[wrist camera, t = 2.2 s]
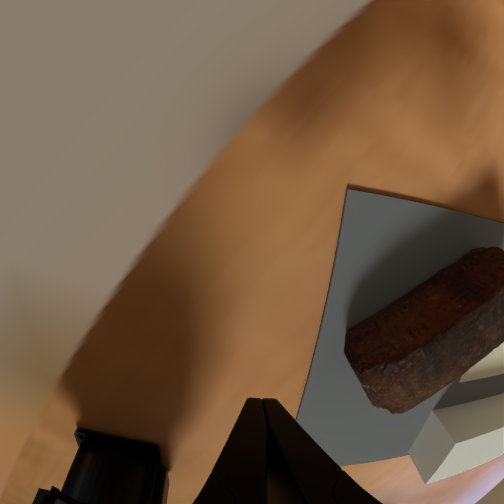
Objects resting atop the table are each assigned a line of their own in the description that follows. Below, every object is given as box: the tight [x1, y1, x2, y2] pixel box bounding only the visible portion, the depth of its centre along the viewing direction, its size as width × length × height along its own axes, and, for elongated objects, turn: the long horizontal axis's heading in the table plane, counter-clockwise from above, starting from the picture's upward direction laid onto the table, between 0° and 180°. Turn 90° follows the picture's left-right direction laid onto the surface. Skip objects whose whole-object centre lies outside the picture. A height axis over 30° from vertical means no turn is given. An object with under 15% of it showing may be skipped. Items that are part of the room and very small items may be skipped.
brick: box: [344, 246, 504, 414], centre depth 14 cm, size 11×4×5 cm, turn 120°
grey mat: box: [296, 189, 504, 466], centre depth 18 cm, size 22×20×1 cm
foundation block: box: [408, 393, 504, 485], centre depth 19 cm, size 10×5×4 cm, turn 83°
